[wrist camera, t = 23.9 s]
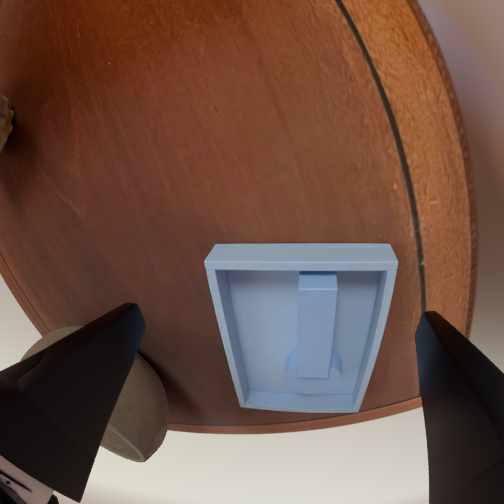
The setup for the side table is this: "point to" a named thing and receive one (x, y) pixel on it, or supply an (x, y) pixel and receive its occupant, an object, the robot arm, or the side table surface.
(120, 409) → the bowl
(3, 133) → the seashell
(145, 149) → the side table surface
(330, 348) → the blue spoon
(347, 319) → the blue tray
